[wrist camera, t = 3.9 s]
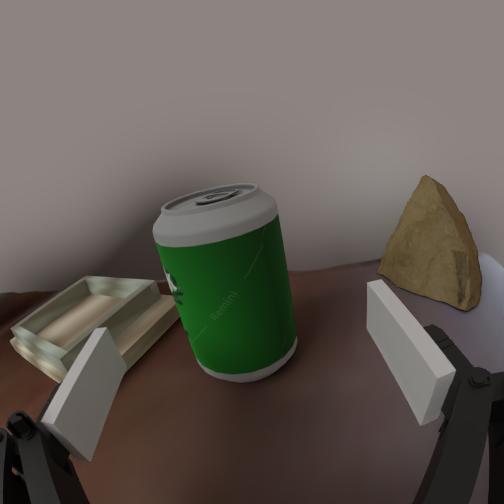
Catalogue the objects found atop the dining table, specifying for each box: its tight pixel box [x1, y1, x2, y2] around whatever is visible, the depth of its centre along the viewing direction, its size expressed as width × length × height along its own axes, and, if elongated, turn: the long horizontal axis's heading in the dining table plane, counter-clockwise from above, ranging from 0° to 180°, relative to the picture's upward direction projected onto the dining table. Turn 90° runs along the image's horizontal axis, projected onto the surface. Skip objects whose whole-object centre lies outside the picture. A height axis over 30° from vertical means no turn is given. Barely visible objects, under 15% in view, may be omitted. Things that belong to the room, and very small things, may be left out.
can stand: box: [10, 276, 180, 383], centre depth 27 cm, size 18×14×4 cm
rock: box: [377, 175, 482, 311], centre depth 23 cm, size 11×9×10 cm
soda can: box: [153, 183, 298, 383], centre depth 19 cm, size 8×8×12 cm
